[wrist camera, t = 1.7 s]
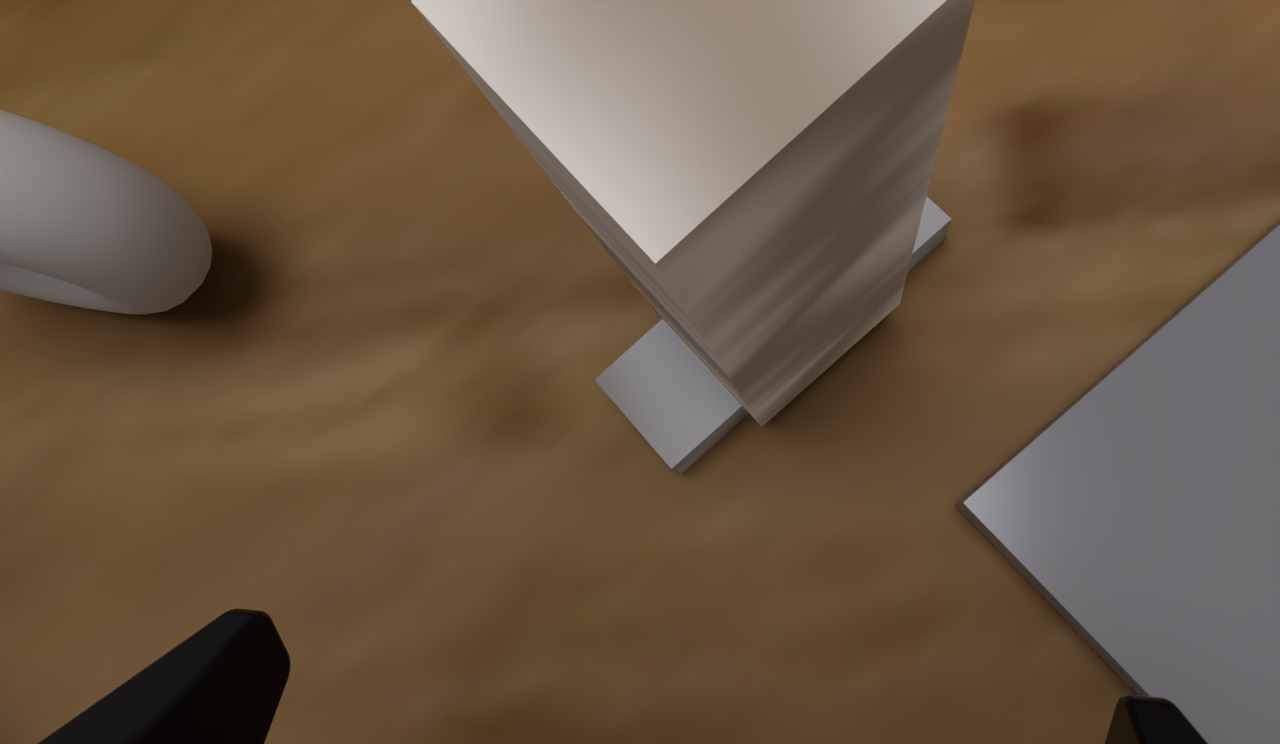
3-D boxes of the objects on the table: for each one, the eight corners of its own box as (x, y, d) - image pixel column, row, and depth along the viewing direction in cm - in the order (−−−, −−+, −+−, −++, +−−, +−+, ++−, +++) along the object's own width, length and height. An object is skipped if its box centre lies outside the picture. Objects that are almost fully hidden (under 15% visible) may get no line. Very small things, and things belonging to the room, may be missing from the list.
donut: (298, 234, 27) (3, 63, 18) (269, 345, 27) (-51, 231, 17) (33, 200, 30) (-353, 33, 20) (2, 301, 29) (-410, 180, 20)
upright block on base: (699, 494, 23) (488, 414, 9) (592, 370, 24) (266, 136, 10) (964, 258, 23) (1159, -193, 9) (843, 144, 24) (847, -405, 10)
